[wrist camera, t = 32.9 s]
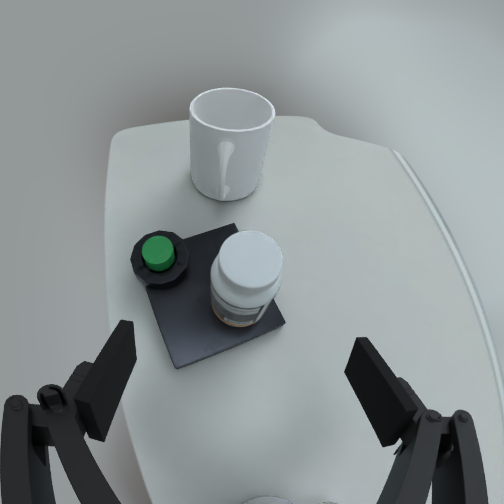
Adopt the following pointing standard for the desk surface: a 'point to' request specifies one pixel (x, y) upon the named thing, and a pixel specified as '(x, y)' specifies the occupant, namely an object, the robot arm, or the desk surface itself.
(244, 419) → the desk surface
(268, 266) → the pill bottle
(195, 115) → the mug
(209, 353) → the scale
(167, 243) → the tare button
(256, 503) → the cup
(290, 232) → the desk surface
